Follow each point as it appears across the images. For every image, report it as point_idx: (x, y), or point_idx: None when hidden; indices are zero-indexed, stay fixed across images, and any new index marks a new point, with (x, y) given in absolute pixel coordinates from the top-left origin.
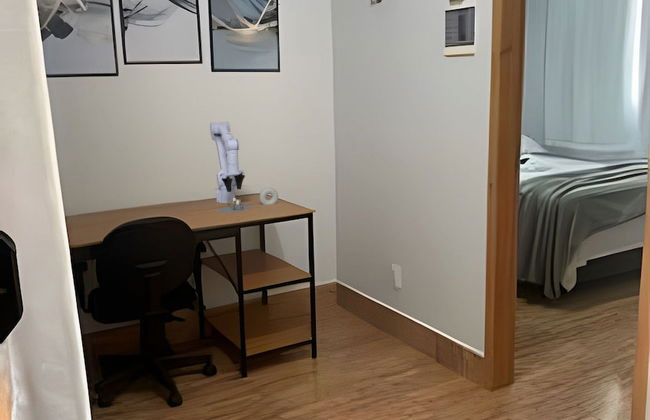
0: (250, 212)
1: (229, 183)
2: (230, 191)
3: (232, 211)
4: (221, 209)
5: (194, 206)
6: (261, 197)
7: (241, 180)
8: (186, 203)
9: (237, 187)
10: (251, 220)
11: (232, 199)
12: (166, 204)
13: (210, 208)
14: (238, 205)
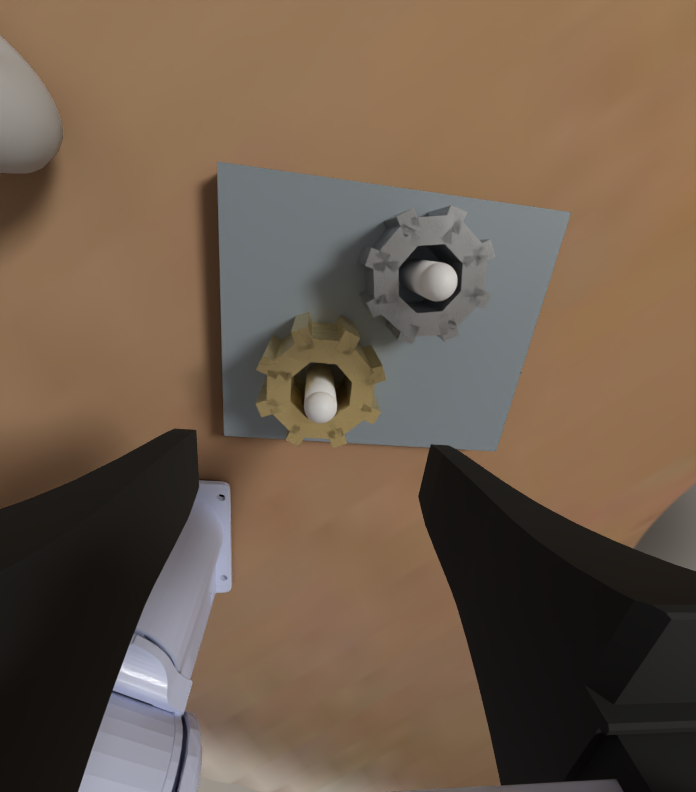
0: (369, 136)
1: (595, 534)
2: (449, 447)
3: (510, 273)
4: (448, 420)
5: (322, 653)
6: (9, 89)
7: (78, 518)
8: (269, 720)
9: (188, 498)
10: None
11: (294, 442)
12: (331, 762)
13: (338, 553)
14: (472, 238)
